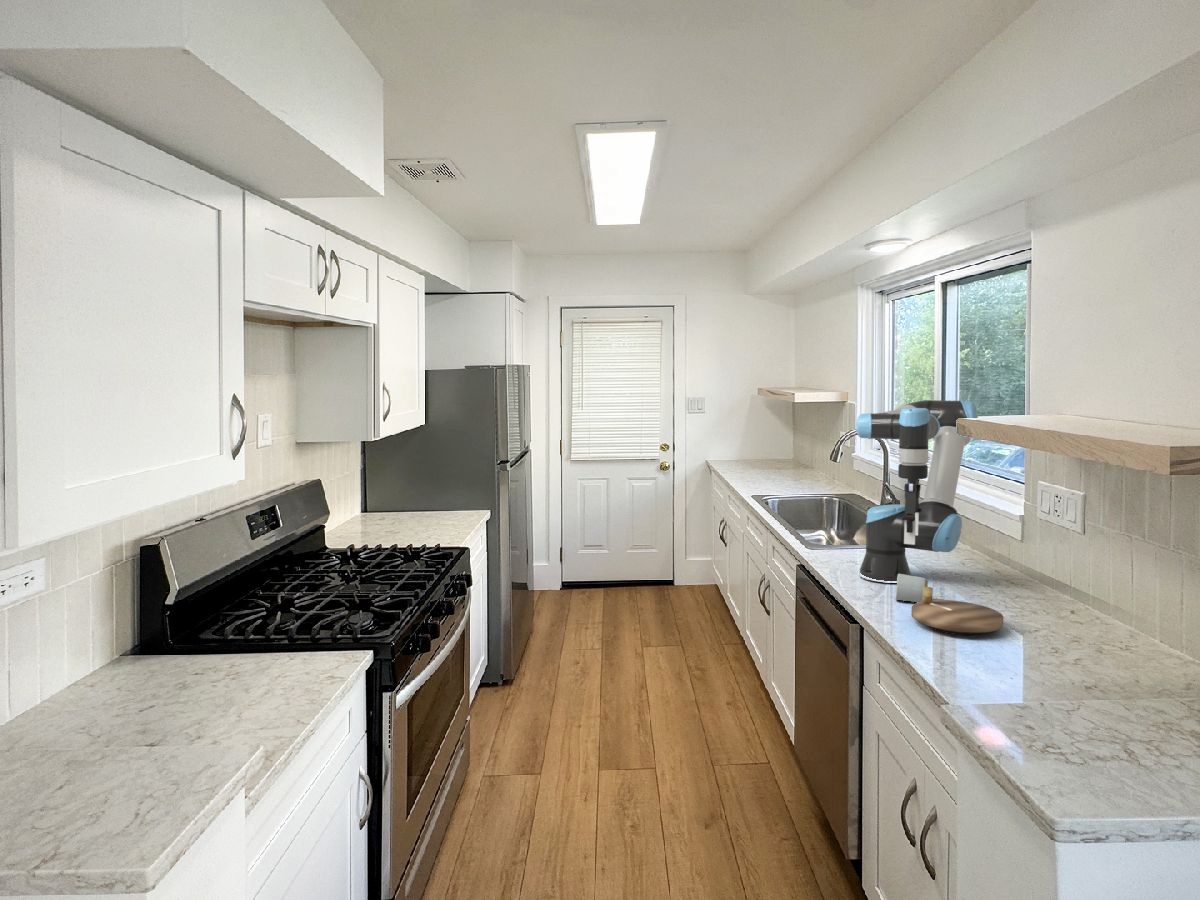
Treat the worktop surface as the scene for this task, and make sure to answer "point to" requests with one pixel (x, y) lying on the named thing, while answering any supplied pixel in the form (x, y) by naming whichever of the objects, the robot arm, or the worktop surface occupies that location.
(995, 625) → the disc
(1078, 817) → the worktop surface
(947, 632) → the turntable base
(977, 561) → the worktop surface
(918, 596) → the ceramic mug
